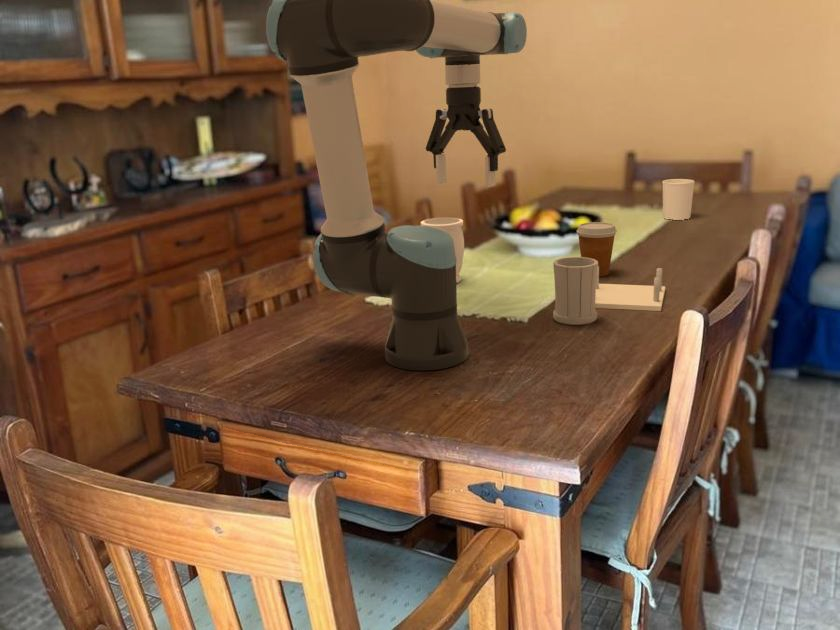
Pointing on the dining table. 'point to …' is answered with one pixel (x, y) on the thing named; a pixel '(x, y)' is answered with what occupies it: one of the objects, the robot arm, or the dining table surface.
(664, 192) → the candle holder
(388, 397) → the dining table surface
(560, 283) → the cup
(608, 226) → the disposable coffee cup
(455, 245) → the jar
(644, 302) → the beige flat pegged board
